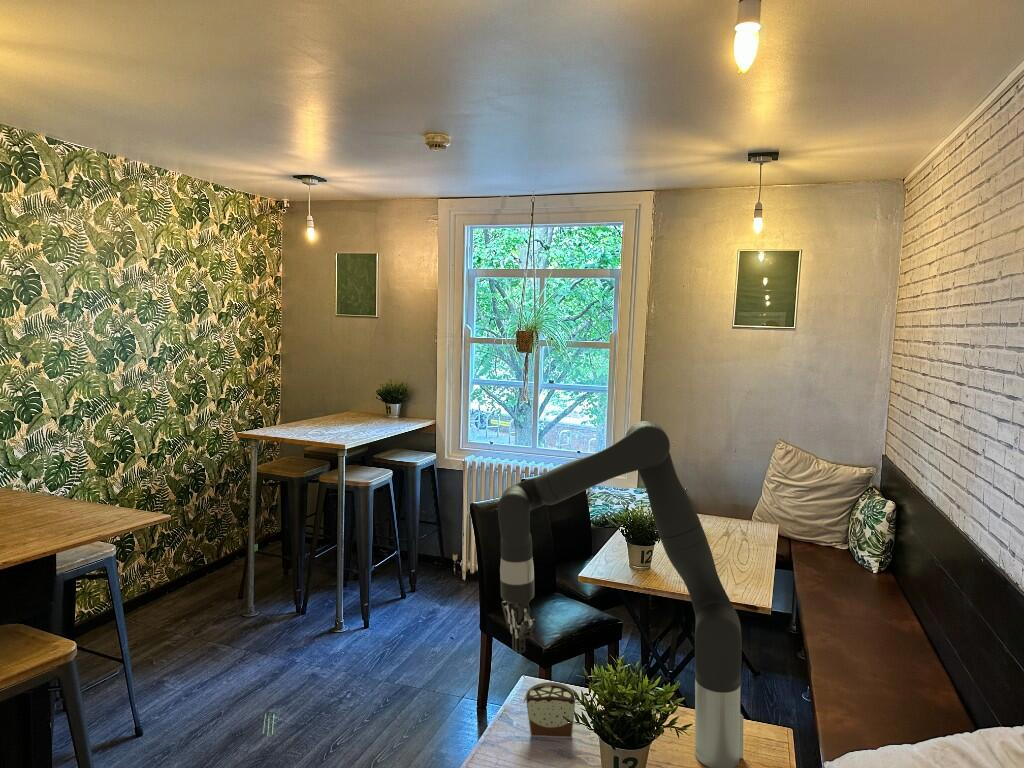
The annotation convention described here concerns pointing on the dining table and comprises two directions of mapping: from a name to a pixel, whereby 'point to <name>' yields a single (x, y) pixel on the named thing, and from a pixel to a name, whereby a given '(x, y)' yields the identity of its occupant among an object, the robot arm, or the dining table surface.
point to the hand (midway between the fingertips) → (518, 650)
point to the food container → (550, 710)
